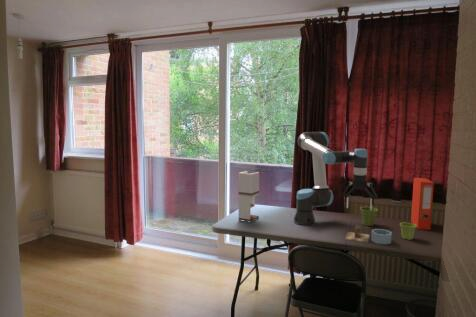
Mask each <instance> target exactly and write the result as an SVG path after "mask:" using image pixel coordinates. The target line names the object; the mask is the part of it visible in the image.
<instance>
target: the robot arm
mask: <svg viewBox="0 0 476 317" xmlns="http://www.w3.org/2000/svg"><path fill="white" fill-rule="evenodd" d="M329 144H330V138H329V135H328V134H327V133H326V132H324V131H305V132H302V133H301V134H300V135H299V136H298V138H297V145H298V147H300V148H301V149H303V150H304V151H307V150H308V151H309V152H310V153H311V155H312V156H311V157H312V168H313V182H314V186H313V187H312V188H302V189H300V190H298V191H297V192H296V212H295V215H294V217H293V223H294V222H295V223H294V224H296V223H298V224H297V225H300V224H302V225H301V226H312V224H313V225H315V224H316V218H315V214H314V208H318V207H327V206H330V205H331V204H332V203H333V200H334V194H333V191H332V190H331V189H330V187H329V186H328V184H327V173H326V172H327V171H326V165H335V164H353V177H352V178H353V181H350V180H349V181H348V182H347V186H346V187H345V189H344V191H343V193H342V194H341V196H342V197H344V202H345V203H346V209H348V208H349V200H350V199H349V195H350V194H352V192H354V191H355V190H360V191H364V192H366V194H367V195H368V196H369V198H370V205H369V207H370V210H372V207H373V206H374V205H375V200H376V199H378V196H377V193H376V190H375V189H374V187H373V182H368V181H367V178H368V177H367V174H368V173H367V172H368V150H367V149H366V148H354V151H353V150H349V149H348V150H341V151H338V150H337V151H336V150H335V151H334V150H332V149H330V148H328V147H329ZM350 186H352V188H351V189H350V190H349V191H348V189H349V187H350ZM367 186H368V187H369V188H370V190H371V192H370V190H368V188H367ZM347 191H348V192H347Z"/></svg>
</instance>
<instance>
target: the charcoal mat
mask: <svg viewBox="0 0 476 317" xmlns="http://www.w3.org/2000/svg"><path fill="white" fill-rule="evenodd" d="M345 238H346V236H345ZM345 238H344V239H343V240H344V241H346V240H345ZM349 241H350V242H354V241H353V240H349ZM370 241H371V235H370V236H369V241H368V243H367V242H364V243H366V244H370ZM356 242H360V241H356ZM360 243H361V242H360Z"/></svg>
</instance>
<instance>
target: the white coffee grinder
mask: <svg viewBox="0 0 476 317" xmlns="http://www.w3.org/2000/svg"><path fill="white" fill-rule="evenodd" d="M248 172H249V171H247V170H245V171H240V172H238V221H239V220H244V221H243V222H245V221H250V222H252V221H253V222H255V221H257V220H258V219H257V218H259V219H260V217H259V215H254V214H251V208H253V207H255V201H256V200H255V199H256V197H257V196H260V172H259V171H256V172H252V173H248ZM256 219H257V220H256ZM254 220H255V221H254ZM250 222H249V223H250ZM253 222H252V223H253Z"/></svg>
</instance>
